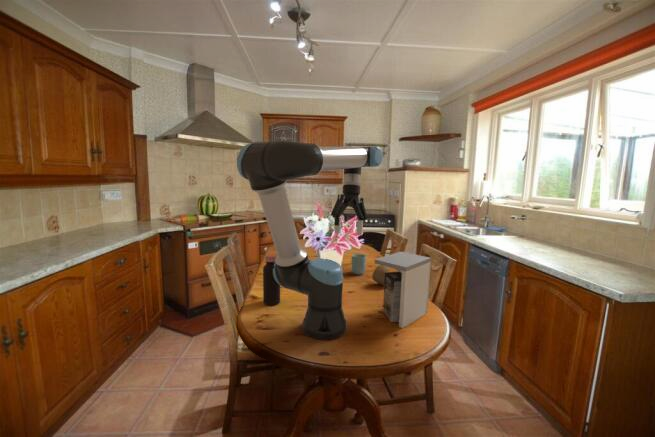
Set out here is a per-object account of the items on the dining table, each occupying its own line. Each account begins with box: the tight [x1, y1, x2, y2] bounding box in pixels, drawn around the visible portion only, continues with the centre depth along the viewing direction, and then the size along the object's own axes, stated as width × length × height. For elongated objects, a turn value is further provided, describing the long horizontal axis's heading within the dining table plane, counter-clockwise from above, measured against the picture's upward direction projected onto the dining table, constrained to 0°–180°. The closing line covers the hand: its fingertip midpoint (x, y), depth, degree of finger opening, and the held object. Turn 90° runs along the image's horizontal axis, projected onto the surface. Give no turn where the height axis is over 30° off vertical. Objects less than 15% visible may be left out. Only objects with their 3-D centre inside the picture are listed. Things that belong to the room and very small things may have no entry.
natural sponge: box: [371, 264, 392, 286], centre depth 146 cm, size 9×9×10 cm
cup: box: [351, 253, 367, 276], centre depth 163 cm, size 8×8×10 cm
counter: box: [374, 251, 432, 329], centre depth 115 cm, size 18×13×22 cm
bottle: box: [262, 253, 281, 307], centre depth 123 cm, size 7×7×20 cm
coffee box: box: [382, 271, 402, 323], centre depth 113 cm, size 9×6×16 cm
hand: (348, 234), depth 129 cm, fingers open, 13 cm apart
